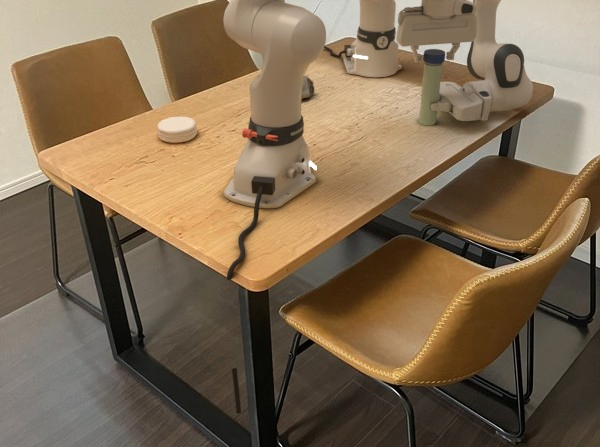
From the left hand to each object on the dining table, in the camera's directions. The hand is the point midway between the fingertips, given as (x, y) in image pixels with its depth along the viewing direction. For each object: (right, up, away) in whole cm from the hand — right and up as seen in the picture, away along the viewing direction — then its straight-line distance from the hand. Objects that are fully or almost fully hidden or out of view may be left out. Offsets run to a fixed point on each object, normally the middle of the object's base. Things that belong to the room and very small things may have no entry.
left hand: (433, 60), depth 160 cm
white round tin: (-67, -19, +3) cm, 69 cm away
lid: (0, +2, -1) cm, 2 cm away
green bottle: (0, -14, +9) cm, 17 cm away
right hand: (-1, -10, +6) cm, 11 cm away
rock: (-38, -3, +28) cm, 47 cm away
